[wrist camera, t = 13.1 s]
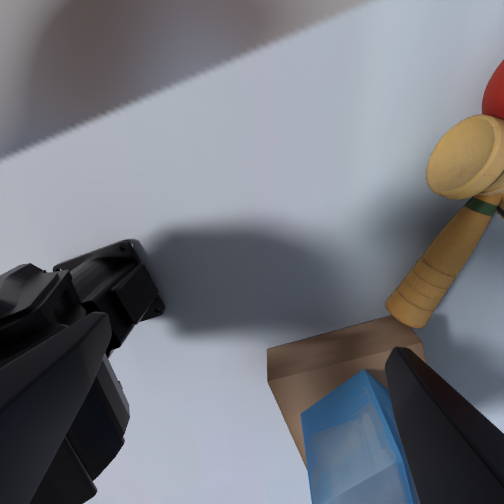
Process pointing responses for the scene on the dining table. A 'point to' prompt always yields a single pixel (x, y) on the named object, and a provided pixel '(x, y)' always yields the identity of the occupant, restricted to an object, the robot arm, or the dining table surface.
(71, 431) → the robot arm
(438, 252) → the kendama
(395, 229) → the dining table surface
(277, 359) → the walnut plinth
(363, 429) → the perfume bottle
